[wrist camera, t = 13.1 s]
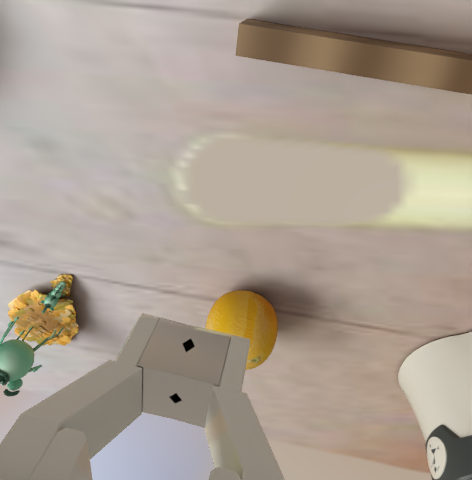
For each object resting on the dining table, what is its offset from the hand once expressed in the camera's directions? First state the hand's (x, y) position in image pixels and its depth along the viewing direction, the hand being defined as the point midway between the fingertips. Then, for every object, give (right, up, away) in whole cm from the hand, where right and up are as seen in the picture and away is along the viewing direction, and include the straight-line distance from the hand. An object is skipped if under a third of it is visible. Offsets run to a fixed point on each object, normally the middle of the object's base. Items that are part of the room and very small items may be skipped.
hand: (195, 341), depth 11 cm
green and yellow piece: (-24, -7, +43) cm, 50 cm away
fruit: (+2, -5, +36) cm, 36 cm away
